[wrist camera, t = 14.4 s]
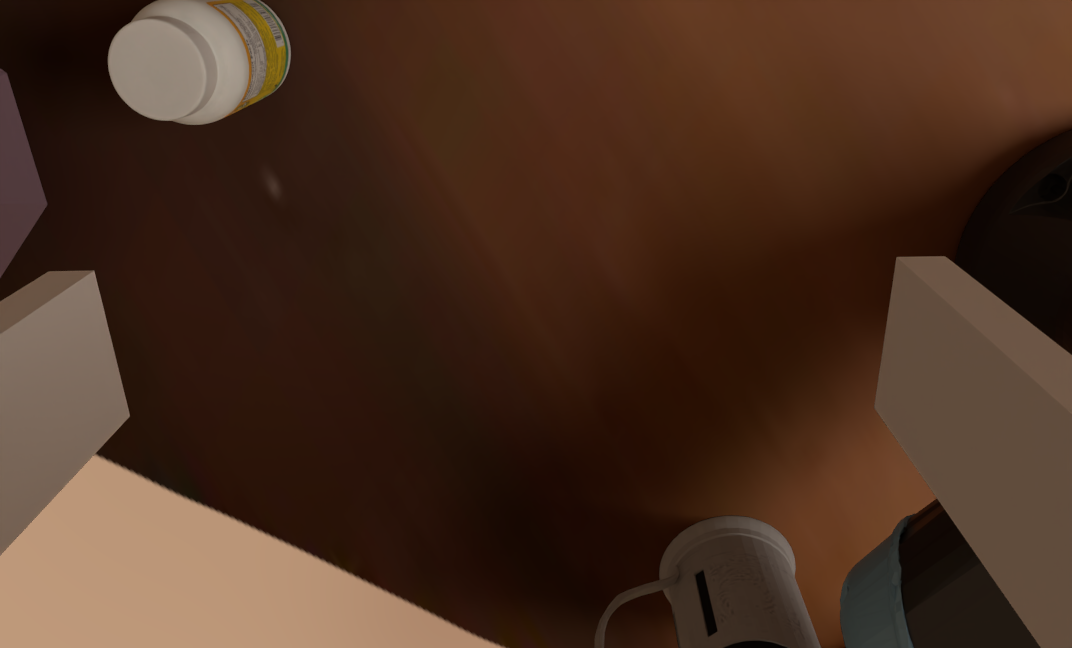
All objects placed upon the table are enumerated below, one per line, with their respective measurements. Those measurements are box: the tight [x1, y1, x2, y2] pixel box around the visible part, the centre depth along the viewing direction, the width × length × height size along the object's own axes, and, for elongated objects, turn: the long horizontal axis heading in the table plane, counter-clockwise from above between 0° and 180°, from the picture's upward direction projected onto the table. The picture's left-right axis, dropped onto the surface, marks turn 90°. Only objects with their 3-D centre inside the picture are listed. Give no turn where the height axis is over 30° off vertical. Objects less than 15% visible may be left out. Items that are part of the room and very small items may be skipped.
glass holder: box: [595, 516, 821, 648], centre depth 48 cm, size 9×14×15 cm, turn 67°
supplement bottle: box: [108, 0, 291, 125], centre depth 39 cm, size 5×5×10 cm
